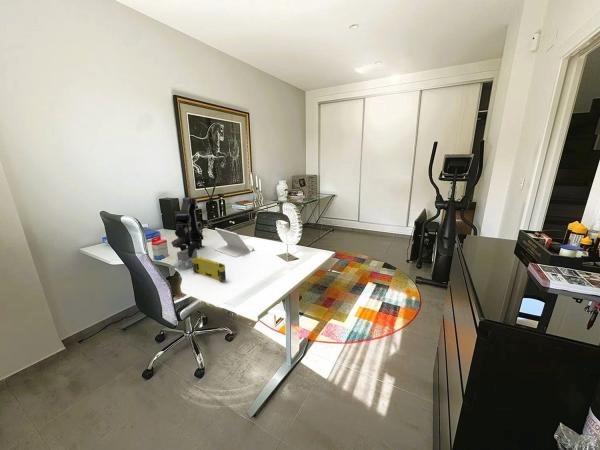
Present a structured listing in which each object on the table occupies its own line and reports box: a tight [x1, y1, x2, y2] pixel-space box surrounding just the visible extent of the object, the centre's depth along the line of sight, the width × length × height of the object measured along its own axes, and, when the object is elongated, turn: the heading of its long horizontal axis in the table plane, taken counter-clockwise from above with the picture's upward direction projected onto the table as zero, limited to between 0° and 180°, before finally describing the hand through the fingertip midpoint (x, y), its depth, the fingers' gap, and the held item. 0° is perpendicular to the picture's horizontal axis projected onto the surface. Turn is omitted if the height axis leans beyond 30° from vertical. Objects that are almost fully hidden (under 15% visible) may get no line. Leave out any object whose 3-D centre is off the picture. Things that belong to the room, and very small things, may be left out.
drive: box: [176, 249, 198, 262], centre depth 155 cm, size 10×6×5 cm, turn 150°
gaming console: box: [192, 255, 227, 282], centre depth 138 cm, size 26×4×10 cm, turn 60°
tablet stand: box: [214, 227, 255, 258], centre depth 180 cm, size 18×25×17 cm
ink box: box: [150, 235, 170, 261], centre depth 165 cm, size 8×5×15 cm, turn 168°
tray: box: [171, 254, 199, 271], centre depth 156 cm, size 16×11×4 cm
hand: (187, 256), depth 155 cm, fingers closed on drive, 5 cm apart
